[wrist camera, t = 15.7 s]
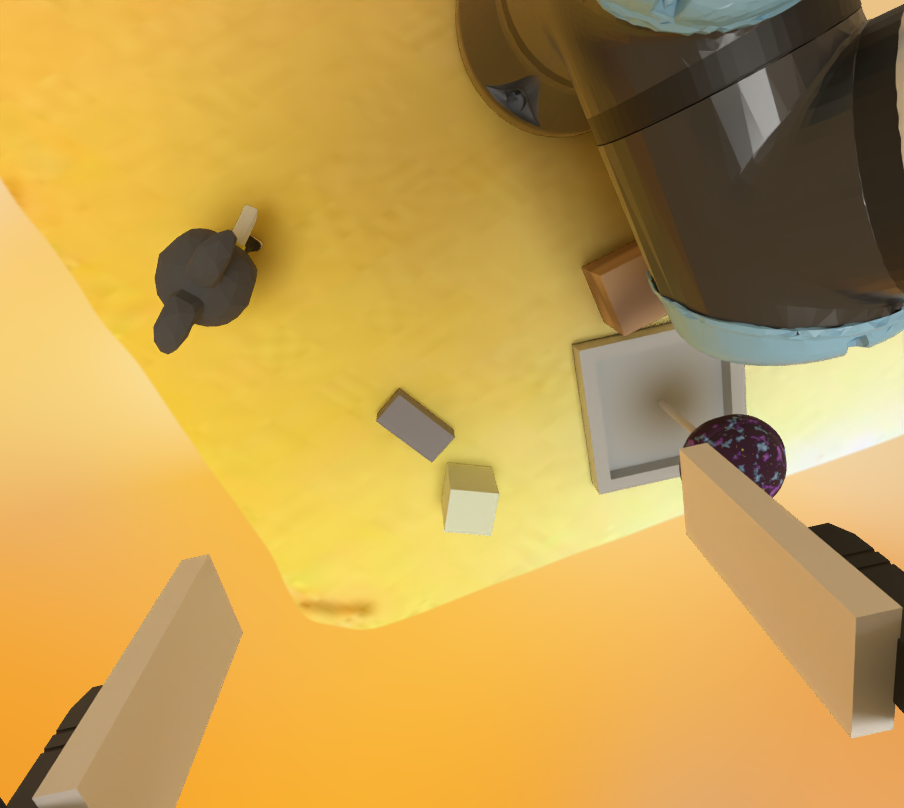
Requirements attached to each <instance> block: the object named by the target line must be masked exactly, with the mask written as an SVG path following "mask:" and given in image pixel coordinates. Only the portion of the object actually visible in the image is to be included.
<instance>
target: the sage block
mask: <svg viewBox="0 0 904 808" xmlns="http://www.w3.org/2000/svg"><path fill="white" fill-rule="evenodd" d="M498 497H499V491H498V488H497V485H496V481H495V478H494V474H493V471H492V467H488V466H478V465H467V464H457V463H447V467H446V474H445V481H444V488H443V495H442V501H441V503H442V514H443V524H444V532H451V533H463V534H475V535H487V536H492V530H493V525H494V519H495V514H496V508H497V503H498Z"/></svg>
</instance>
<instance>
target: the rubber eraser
mask: <svg viewBox="0 0 904 808" xmlns="http://www.w3.org/2000/svg"><path fill="white" fill-rule="evenodd" d="M377 422H378V423H379V424H381V425H382V426H383V427H385V428H386V429H387V430H389V431H390V432H391V433H393V434H394V435H395V436H397V437H398V438H400V439H401V440H402V441H404V442H405V443H406V444H408V445H409V446H410V447H412V448H413V449H414V450H416V451H417V452H418V453H420V454H421V455H423V456H424V457H425V458H427V459H428V460H429V461H431V462H433V461H434V460H435V459H436V458H437V456H438V455H439V454H440V453H441V452H442V451H443V450H444V449H445V448H446V447H447V445H448V444H449V443H450V442H451V441H452V440H453V439H454V438H455V436H454V430H453V429H452V428H450V427H449V426H448V425H447V424H445V423H444V422H443V421H441V420H440V419H439V418H437V417H436V416H435V415H434V414H432V413H431V412H430V411H428V410H427V409H426V408H424V407H423V406H422V405H421V404H419V403H418V402H417V401H415V400H414V399H413V398H412V397H410V396H409V395H408V394H406V393H405V392H404V391H402V390H401V389H400V388H399V390H398V391H397V392H396V393H395V394H394V395H393V397H392V398H391V399H390V400H389V401H388V402H387V404H386V405H385V406H384V407H383V408H382V409H381V411H380V412H379V413H378V414H377Z"/></svg>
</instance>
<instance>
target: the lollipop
mask: <svg viewBox="0 0 904 808" xmlns="http://www.w3.org/2000/svg"><path fill="white" fill-rule="evenodd" d="M658 406H660V407H661V408H662V409H663V410H664V411H665V412H666V413H668V414H669V415H670V416H671V417H672V418H673V419H674V420H676V421H677V422H678V423H679V424H680V425H681V426H682V427H683V428H685V429H686V430H687V431H688V432H689V433H690V435H689V437H688V438H687V440H686V442H685V444H684V446H683V448H686V447H690V446H695V445H699V444H704V443H708V444H709V445H710V446H711V447H713V448H714V449H715V450H716V451H717V452H718V453H720V454H721V455H722V456H723V457H724V458H726V459H727V460H728V461H729V462H730V463H732V464H733V465H734V466H735V467H736V468H737V469H739V470H740V471H741V472H742V473H743V474H745V475H746V476H747V477H748V478H749V479H751V480H752V481H753V482H754V483H755V484H756V485H758V486H759V487H760V488H761V489H762V490H764V491H765V492H766V493H767V494H768V495H770V496H771V497H772V498H773V497H774V496H775V495H776V494H777V492H778V491H779V489H780V488H781V486H782V484H783V482H784V479H785V475H786V467H787V464H786V455H785V447H784V444H783V442H782V440H781V438H780V436H779V435H778V433H777V432H776V431H775V430H774V429H773V428H772V427H771V426H769V425H768V424H767V423H765V422H763V421H762V420H760V419H758V418H755V417H753V416H749V415H744V414H731V415H725V416H721V417H718V418H714V419H711V420H709V421H707V422H705V423H703V424H701V425H700V426H699V427H695V426H694V425H693V424H692V423H691V422H689V421H688V420H687V419H686V418H685V417H683V416H682V415H681V414H680V413H679V412H677V411H676V410H675V409H674V408H673V407H671V406H670V405H669V404H668V403H667V402H666V401H664V400H659V401H658ZM679 472H680V477H681V465H680V463H679ZM681 480H682V477H681Z"/></svg>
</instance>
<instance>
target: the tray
mask: <svg viewBox="0 0 904 808" xmlns="http://www.w3.org/2000/svg"><path fill="white" fill-rule="evenodd" d="M572 348H573V354H574V361H575V368H576V375H577V382H578V389H579V395H580V402H581V409H582V416H583V423H584V430H585V437H586V443H587V450H588V457H589V464H590V471H591V478H592V484H593V485H594V487H595V488H596V490H597V492H598V493H599V495H600V494H604V493H609V492H613V491H618V490H622V489H627V488H631V487H636V486H640V485H645V484H649V483H654V482H658V481H663V480H667V479H672V478H676V477H680V472H679V463H680V453H679V449H681V448H683V446H684V444H685V442H686V440H687V438H688V437H689V435H690V433H689V432H688V431H687V430H686V429H685V428H683V427H682V426H681V425H680V424H679V423H678V422H677V421H676V420H674V419H673V418H672V417H671V416H670V415H669V414H668V413H666V412H665V411H664V410H663V409H662V408H661V407H660V406H658V401H659V400H664V401H666V402H667V403H668V404H669V405H670V406H671V407H673V408H674V409H675V410H676V411H677V412H679V413H680V414H681V415H682V416H683V417H685V418H686V419H687V420H688V421H689V422H691V423H692V424H693V425H694V426H695V427H699V426H700V425H701V424H703V423H705V422H707V421H709V420H711V419H714V418H718V417H721V416H725V415H731V414H744V415H747V413H746V387H745V365H744V364H737V363H731V362H727V361H722V360H719V359H716V358H713V357H710V356H708V355H706V354H703V353H701V352H699V351H697V350H696V349H695V348H693V347H691V346H690V345H689V344H688V343H687V342H686V341H685V340H684V339H683V338H682V337H680V335H679V334H678V333H677V332H676V330H675V328H674V326H673V324H672V322H670V323H666V324H661V325H657V326H652V327H648V328H644V329H639V330H636V331H634V332H632V333H630V334H628V335H626V336H624V335H622V334H617V335H613V336H608V337H604V338H599V339H595V340H591V341H586V342H582V343H577V344H573V345H572Z"/></svg>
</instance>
